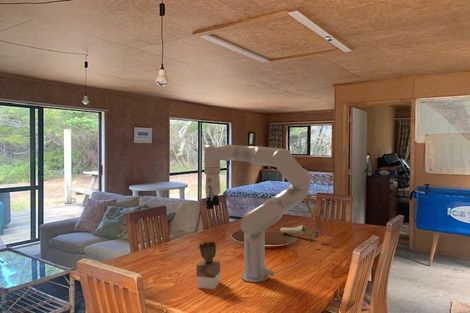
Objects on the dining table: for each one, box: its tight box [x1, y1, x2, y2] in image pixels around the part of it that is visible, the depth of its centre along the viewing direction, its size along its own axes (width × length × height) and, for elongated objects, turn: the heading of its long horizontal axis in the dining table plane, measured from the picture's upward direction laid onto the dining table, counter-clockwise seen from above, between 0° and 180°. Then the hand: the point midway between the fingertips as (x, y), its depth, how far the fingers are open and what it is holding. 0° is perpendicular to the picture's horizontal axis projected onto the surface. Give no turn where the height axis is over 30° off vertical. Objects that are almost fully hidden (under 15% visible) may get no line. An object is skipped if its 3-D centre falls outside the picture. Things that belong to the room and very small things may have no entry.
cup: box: [198, 241, 217, 263], centre depth 153 cm, size 8×7×8 cm
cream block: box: [196, 271, 221, 290], centre depth 152 cm, size 8×8×5 cm
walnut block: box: [196, 258, 221, 278], centre depth 152 cm, size 8×8×5 cm
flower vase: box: [279, 224, 323, 243], centre depth 228 cm, size 12×12×35 cm
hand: (212, 207), depth 164 cm, fingers open, 9 cm apart
